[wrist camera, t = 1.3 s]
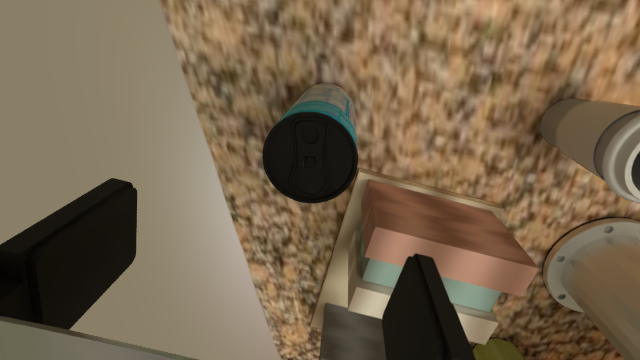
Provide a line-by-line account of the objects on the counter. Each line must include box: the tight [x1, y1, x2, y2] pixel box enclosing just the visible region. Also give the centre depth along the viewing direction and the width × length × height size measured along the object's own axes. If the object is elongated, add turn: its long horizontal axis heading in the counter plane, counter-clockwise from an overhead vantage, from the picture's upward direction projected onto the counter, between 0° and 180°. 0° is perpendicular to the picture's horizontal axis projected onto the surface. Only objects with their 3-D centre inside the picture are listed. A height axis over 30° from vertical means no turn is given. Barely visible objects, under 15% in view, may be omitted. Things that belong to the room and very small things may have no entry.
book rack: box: [311, 168, 539, 360], centre depth 36 cm, size 16×23×11 cm
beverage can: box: [263, 83, 358, 203], centre depth 27 cm, size 6×6×15 cm
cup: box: [540, 98, 640, 203], centre depth 27 cm, size 7×7×12 cm
